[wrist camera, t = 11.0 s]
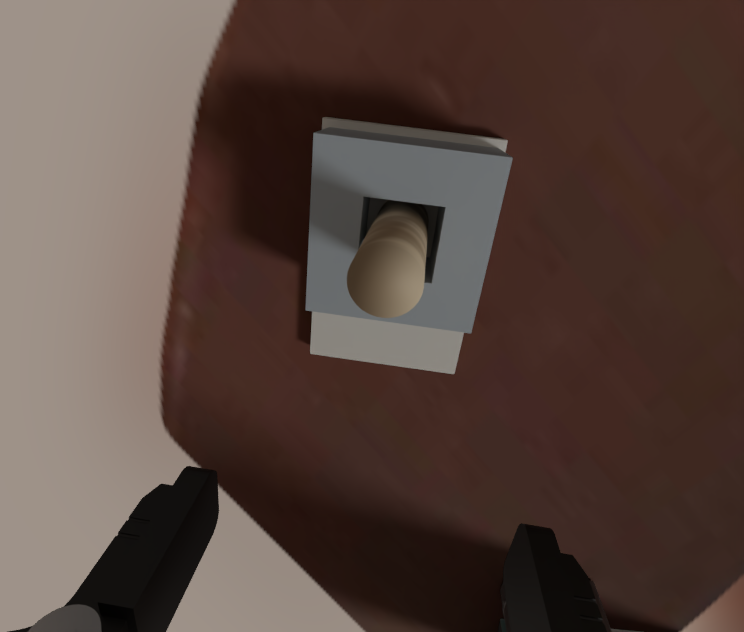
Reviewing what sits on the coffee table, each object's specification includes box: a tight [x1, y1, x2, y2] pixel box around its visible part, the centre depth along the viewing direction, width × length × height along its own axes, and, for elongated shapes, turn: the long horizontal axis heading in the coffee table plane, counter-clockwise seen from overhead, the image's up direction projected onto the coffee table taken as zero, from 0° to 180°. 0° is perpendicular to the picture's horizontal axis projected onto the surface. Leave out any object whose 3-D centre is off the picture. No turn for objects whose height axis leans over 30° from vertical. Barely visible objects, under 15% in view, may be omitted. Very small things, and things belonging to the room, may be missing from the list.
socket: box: [306, 117, 513, 374], centre depth 31 cm, size 12×18×6 cm, turn 174°
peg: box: [347, 200, 429, 318], centre depth 26 cm, size 4×4×12 cm
